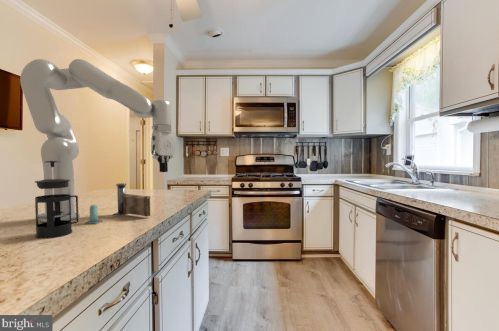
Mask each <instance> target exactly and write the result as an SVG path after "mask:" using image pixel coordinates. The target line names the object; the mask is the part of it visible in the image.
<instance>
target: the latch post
mask: <svg viewBox="0 0 499 331" xmlns="http://www.w3.org/2000/svg"><path fill="white" fill-rule="evenodd" d="M98 214H99V213H98V206H97V204H91V205H90V206H89V220H88V221H87V222H84V225H97V224H100V223H103V220H101V219H100V220H99V218H98Z"/></svg>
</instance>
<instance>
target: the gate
mask: <svg viewBox="0 0 499 331" xmlns="http://www.w3.org/2000/svg"><path fill="white" fill-rule="evenodd" d="M123 213H127V215H135V216H140V217H142V216H143V217H150V216H151V196H150V195H141V194H131V193H129V194H128V193H125V194H123Z"/></svg>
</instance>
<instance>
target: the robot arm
mask: <svg viewBox="0 0 499 331" xmlns="http://www.w3.org/2000/svg"><path fill="white" fill-rule="evenodd" d="M19 79H20V80H19V81H20V86H21V89H22V90H21V91H22V92H23V95H24V98H25V100H26V104H27V107H28V110H29V113H30V116H31V120H32V121H33V125H34V127H35V129H36V130H37V131H38V132H39V133H41V134H43V135H46V137H47V140H45V141H44V142H43V143H42V145H41V148H40V156H41V163H42V168H43V169H42V170H43V180H45V179H52V167H51V164H50V162H45V161H60V162H54V167H53V174H54V179H68V180H70V181H69V187H65V188H54V194H70V195H71V196H72V195H75V179H74V178H75V174H74V164H73V160H75V159H76V158H77V157H78V155H79V154H80V153H79V152H80V148H79V145H78V142H77V138H76V136H75V133H74V130H73V127H72V125H71V123H70V121H69V119H68V118H67V117H66V116H64V115H63V114H61V113H60V111H59V109H58V107H57V103H56V101H55V98H54V96H53V94H52V92H51V90H55V91H65V90H74V89H84V88H88V89H90V90H92V91H94V92H95V93H97V94H98V95H101V96H102V97H104V98H106V99H108V100H112V101H114V102H117V103H119V104H120V105H122V106H124V107H125V108H128V109H129V110H130V111H132V112H133V113H134V115H135V116H136V117H138V118H140V119H149V118H150V119H151V118H152V126H151V129H152V133H151V140H150V152H151V155H152V159H155V160H157V163H159V172H160V173H168V171H169V170H168V167H169V165H168V163H169V162H170V159H173V158H174V156H175V155H176V143H175V137H174V134H173V132H172V117H171V116H172V112H171V103H170V101H168V100H165V99H156V100H153V101H151V100H150V99H149V98H147V97H146V96H145V95H143V94H141V93H140V92H139V91H137V90H135V89H133V88H132V87H130V86H128V84H126V83H123V82H121V81H120V80H117V79H116V78H114V77H112V76H111V75H109V74H108V73H106V72H104V71H102V70H101V69H100V68H98V67H97V66H95V65H93V64H92V63H90V62H89V61H86V60H84V59H81V58H76V59H73V60H72V61H71V62H70V63H69V64H68V68H59V67H58V66H57V65H56V64H54V63H53V62H51V61H49V60H46V59H42V58H41V59H40V58H37V59H33V60H31V61H29V62H28V63H27V64H25V65H24V67H23V69H22V71H21V74H20V78H19ZM43 192H44V195H53V189H43ZM44 195H43V196H44ZM60 211H68V212H69V200H67V201H60ZM44 213H47V209H46V203H44ZM78 218H80V213H79V212H78ZM61 220H69V221H70V216H69V215H67V216H64V217H61ZM73 220H76V197H71V221H73ZM39 221H40V222H41V223H45V222H47V219H40V218H39Z"/></svg>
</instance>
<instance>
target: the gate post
mask: <svg viewBox="0 0 499 331" xmlns="http://www.w3.org/2000/svg"><path fill="white" fill-rule="evenodd" d="M115 186H116V188H117V189H116V191H117V192H116V193H117V212H115V213H112V216H126V215H128V214H127V213H123V194H126V186H127V183H125V182H120V183H116V184H115Z"/></svg>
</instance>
